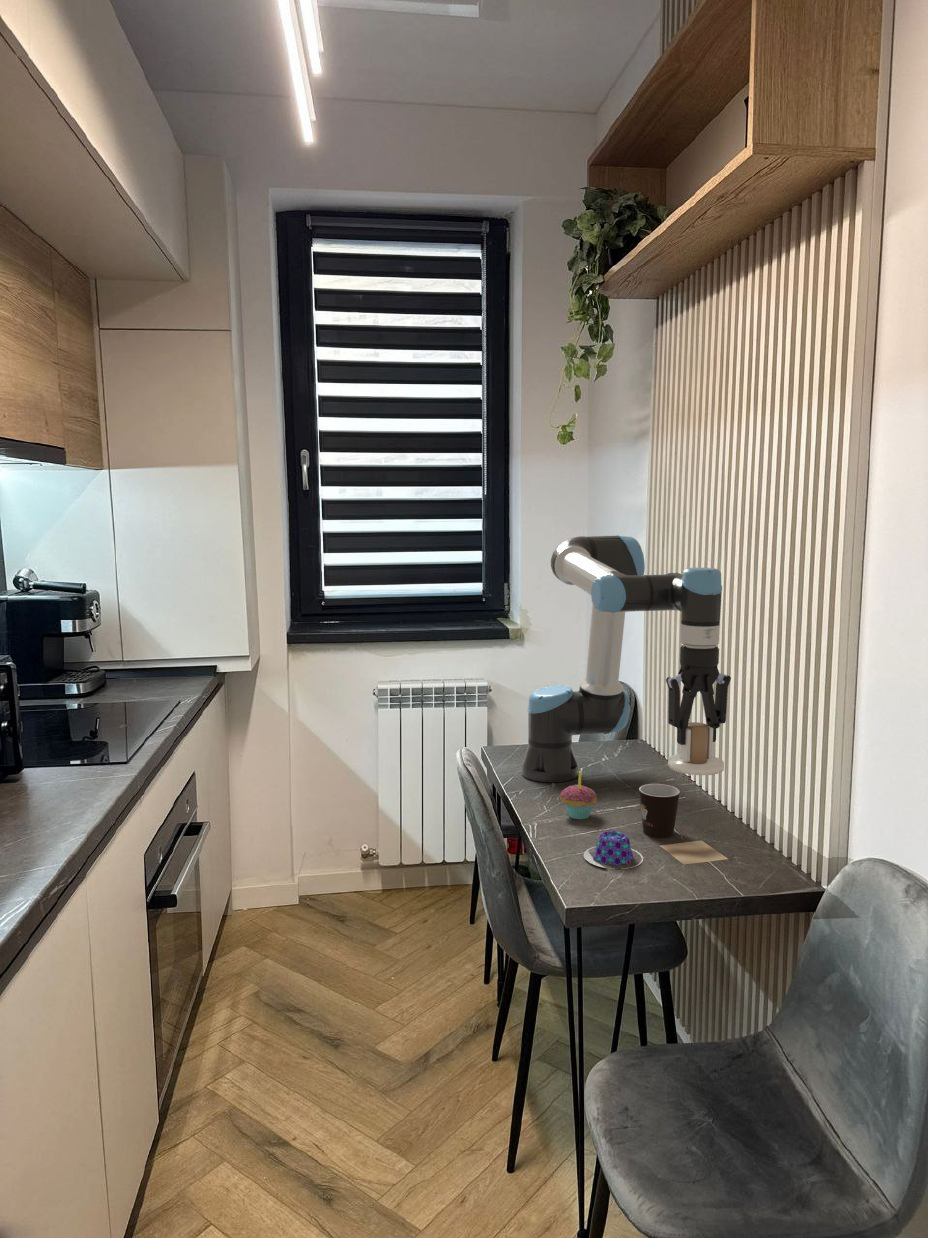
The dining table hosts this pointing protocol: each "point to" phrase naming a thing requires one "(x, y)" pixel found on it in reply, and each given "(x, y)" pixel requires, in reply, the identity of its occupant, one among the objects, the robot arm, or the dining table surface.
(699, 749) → the lid
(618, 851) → the pudding
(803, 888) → the dining table surface
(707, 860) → the cork mat
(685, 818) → the dining table surface
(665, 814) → the coffee mug
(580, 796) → the cupcake
